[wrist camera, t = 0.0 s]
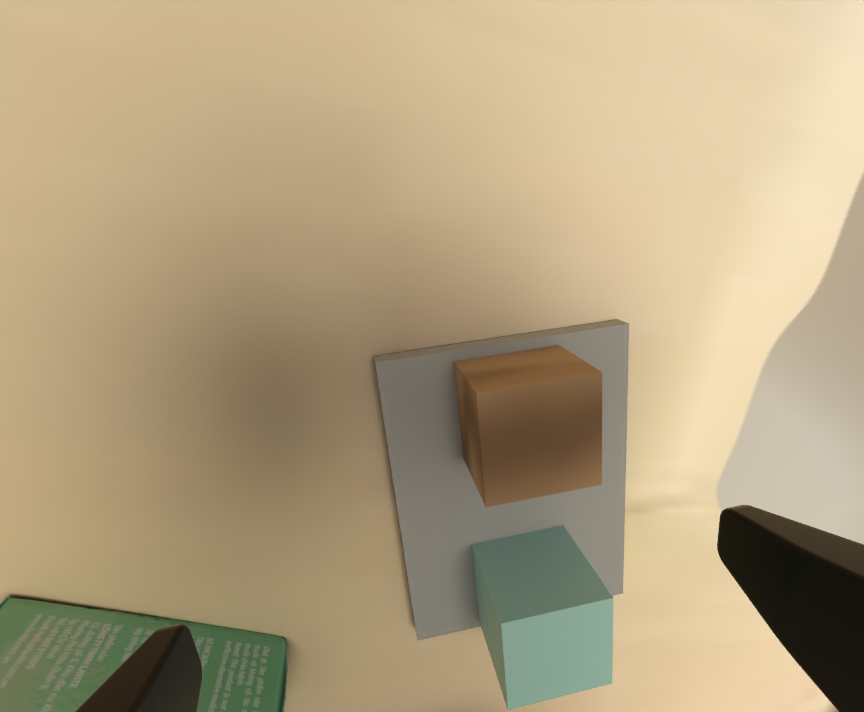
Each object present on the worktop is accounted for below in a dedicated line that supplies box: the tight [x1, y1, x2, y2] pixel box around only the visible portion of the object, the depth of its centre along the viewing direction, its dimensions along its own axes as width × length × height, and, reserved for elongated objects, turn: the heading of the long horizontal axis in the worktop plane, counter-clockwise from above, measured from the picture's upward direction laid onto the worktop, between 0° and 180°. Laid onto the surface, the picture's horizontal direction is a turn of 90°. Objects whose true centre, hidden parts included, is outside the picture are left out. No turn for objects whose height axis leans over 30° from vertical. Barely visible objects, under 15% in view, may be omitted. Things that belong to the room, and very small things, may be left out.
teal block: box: [472, 525, 613, 710], centre depth 23 cm, size 5×5×5 cm
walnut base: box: [454, 345, 602, 507], centre depth 20 cm, size 5×5×4 cm
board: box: [374, 319, 629, 640], centre depth 24 cm, size 16×12×1 cm
